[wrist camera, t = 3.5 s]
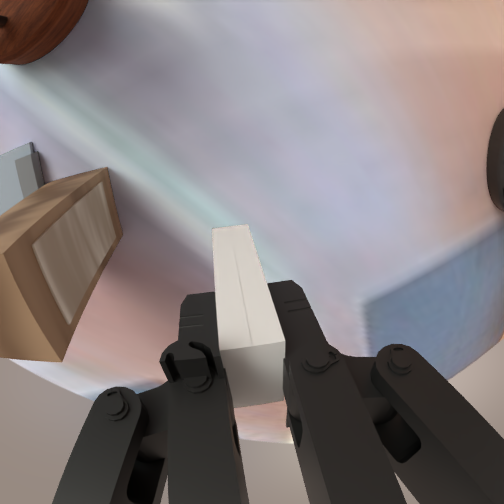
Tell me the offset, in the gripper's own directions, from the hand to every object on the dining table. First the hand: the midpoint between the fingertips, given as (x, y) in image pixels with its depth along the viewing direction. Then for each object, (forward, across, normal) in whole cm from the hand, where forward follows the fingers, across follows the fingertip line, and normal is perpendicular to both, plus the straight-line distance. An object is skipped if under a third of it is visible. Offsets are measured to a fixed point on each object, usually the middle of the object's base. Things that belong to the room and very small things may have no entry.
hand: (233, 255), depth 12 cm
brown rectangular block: (+11, +12, 0) cm, 16 cm away
